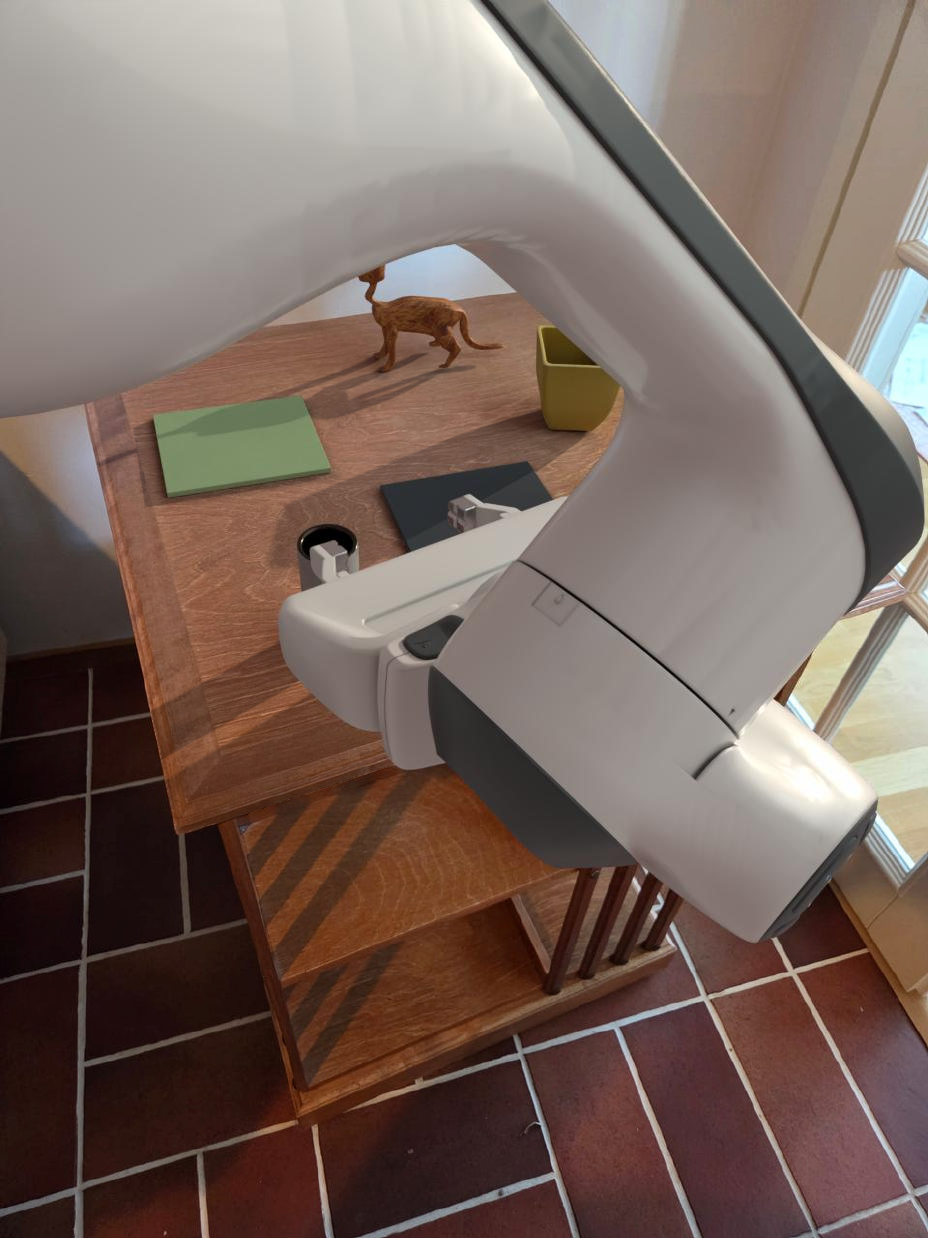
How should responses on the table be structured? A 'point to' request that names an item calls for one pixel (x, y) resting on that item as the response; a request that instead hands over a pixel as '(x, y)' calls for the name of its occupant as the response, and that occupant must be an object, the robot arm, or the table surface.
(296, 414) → the sage mat
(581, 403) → the flower pot
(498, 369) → the table surface
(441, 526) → the slate mat
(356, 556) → the planter
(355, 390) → the table surface
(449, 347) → the cat figurine
